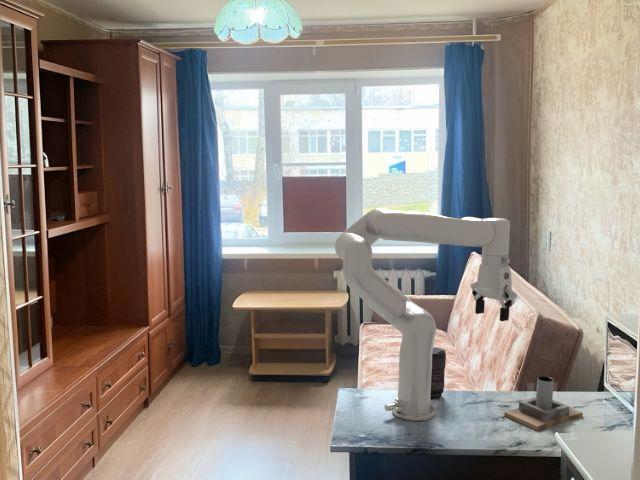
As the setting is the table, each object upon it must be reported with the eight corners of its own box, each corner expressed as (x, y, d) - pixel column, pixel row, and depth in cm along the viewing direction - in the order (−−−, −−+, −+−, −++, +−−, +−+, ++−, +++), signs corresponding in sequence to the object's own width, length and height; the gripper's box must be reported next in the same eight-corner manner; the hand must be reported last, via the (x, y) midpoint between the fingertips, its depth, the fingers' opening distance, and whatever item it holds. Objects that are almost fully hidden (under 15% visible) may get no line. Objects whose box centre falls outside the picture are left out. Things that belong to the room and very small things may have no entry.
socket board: (536, 430, 190) (537, 417, 190) (504, 415, 200) (504, 403, 200) (582, 416, 201) (583, 404, 200) (549, 403, 211) (550, 391, 210)
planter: (552, 415, 198) (554, 381, 196) (536, 414, 199) (538, 380, 197) (550, 410, 202) (552, 376, 201) (534, 408, 203) (536, 375, 202)
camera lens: (448, 394, 216) (450, 349, 214) (438, 402, 210) (440, 355, 208) (424, 389, 221) (426, 344, 219) (414, 396, 214) (415, 350, 212)
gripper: (526, 263, 195) (523, 322, 197) (482, 255, 209) (479, 309, 211) (508, 265, 191) (505, 325, 193) (464, 256, 205) (461, 312, 207)
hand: (491, 316), depth 202 cm, fingers open, 9 cm apart
